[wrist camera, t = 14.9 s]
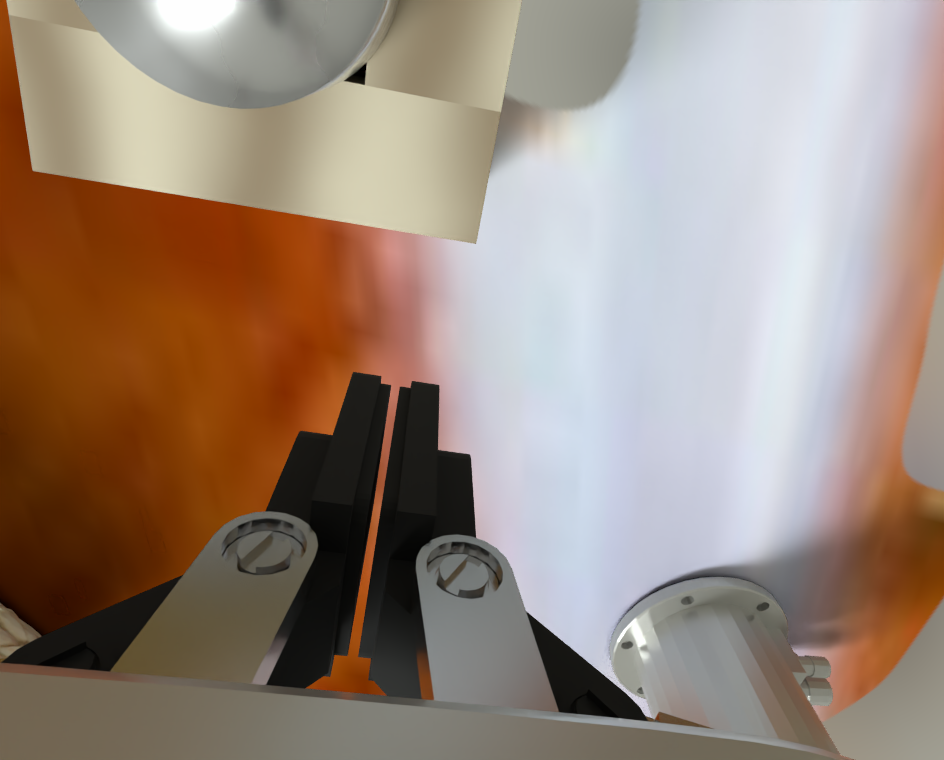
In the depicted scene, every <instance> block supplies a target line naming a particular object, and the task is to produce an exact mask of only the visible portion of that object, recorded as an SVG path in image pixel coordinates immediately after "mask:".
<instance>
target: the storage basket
mask: <svg viewBox="0 0 944 760" xmlns="http://www.w3.org/2000/svg"><path fill="white" fill-rule="evenodd" d="M39 637H41V635H40V634H39V633H38V632H37V631H35V630H34V629H33V628H32V627H31V626H29V625H28V624H26V623H25V622H24V621H22V620H21V619H19V618H18V616H17V615H16V614H15V613H14V611H13V610H11V609H8V608H6V607H5V606H3V605H2V604H1V603H0V659H2V658H7V657H8V656H9V655H11V654H12V653H13V652H14V651H16V650H17V649H19V648H20V647H22V646H24V645H26V644H28V643H30V642H31V641H33V640H35V639H37V638H39Z"/></svg>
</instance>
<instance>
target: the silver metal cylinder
mask: <svg viewBox="0 0 944 760" xmlns="http://www.w3.org/2000/svg"><path fill="white" fill-rule="evenodd" d="M74 1H75V2H76V4H77V5H78V7H79V8H80V10H81V11H82V12H83V14H84V15H85V16H86V17H87V19H88V20H89V21H90V22H91V24H92V25H93V26H94V28H95V29H96V30H97V31H98V32H99V34H100V35H101V36H102V37H103V38H104V39H105V40H106V41H107V42H108V43H109V44H110V45H111V46H112V47H113V48H114V49H115V50H116V51H117V52H118V53H119V54H120V55H122V56H123V57H124V58H125V59H126V60H128V61H129V62H130V63H131V64H132V65H133V66H135V67H136V68H137V69H139V70H140V71H142V72H143V73H145V74H146V75H147V76H149V77H150V78H152V79H153V80H155V81H156V82H158V83H160V84H162V85H164V86H166V87H167V88H169V89H171V90H173V91H175V92H177V93H179V94H182V95H184V96H187V97H190V98H192V99H195V100H197V101H200V102H204V103H208V104H212V105H216V106H221V107H229V108H238V109H258V108H267V107H273V106H279V105H283V104H286V103H289V102H292V101H295V100H298V99H301V98H304V97H306V96H309V95H312V94H314V93H317V92H320V91H322V90H325V89H328V88H330V87H332V86H334V85H336V84H338V83H340V82H342V81H344V80H346V79H347V78H349V77H350V76H351V75H353V74H354V73H356V72H357V71H358V70H359V69H360V68H361V67H362V66H363V65H364V64H366V63H367V62H368V61H369V59H370V58H371V57H372V56H373V54H374V53H375V52H376V51H377V49H378V48H379V46H380V45H381V43H382V41H383V39H384V38H385V36H386V34H387V32H388V30H389V28H390V25H391V23H392V21H393V18H394V15H395V12H396V8H397V5H398V1H399V0H74Z"/></svg>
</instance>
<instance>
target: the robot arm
mask: <svg viewBox="0 0 944 760" xmlns="http://www.w3.org/2000/svg"><path fill="white" fill-rule="evenodd" d="M390 390H391V385H387V384H381V376H376V375H370V374H363V373H356V372H353V374H352V377H351V380H350V383H349V386H348V390H347V393H346V396H345V399H344V402H343V405H342V408H341V411H340V414H339V418H338V421H337V424H336V427H335V430H334V433H333V435H327V434H320V433H313V432H306V431H300V432H299V434H298V436H297V438H296V440H295V442H294V445H293V447H292V450H291V452H290V454H289V457H288V459H287V461H286V464H285V466H284V469H283V471H282V473H281V476H280V478H279V480H278V483H277V485H276V488H275V490H274V492H273V495H272V497H271V499H270V502H269V504H268V506H267V509H266V511H265V512H256V513H251V514H247V515H244V516H240V517H238V518H236V519H234V520H232V521H230V522H228V523H226V524H225V525H224V526H223V527H222V528H221V529H219V530H218V531H217V532H216V533H215V534H214V536H213V537H212V538H211V540H210V541H209V542H208V544H207V545H206V546H205V548H204V549H203V550H202V551H201V553H200V554H199V555H198V557H197V558H196V559H195V561H194V562H193V563H192V565H191V566H190V567H189V568H188V570H187V571H186V572H185V574H184V575H182V576H180V577H177V578H175V579H173V580H170V581H168V582H166V583H163V584H161V585H159V586H156V587H154V588H152V589H150V590H147V591H145V592H143V593H140V594H138V595H136V596H133V597H131V598H129V599H127V600H124V601H122V602H120V603H117V604H115V605H113V606H110V607H108V608H106V609H103V610H101V611H99V612H97V613H94V614H92V615H90V616H87V617H85V618H83V619H80V620H78V621H76V622H74V623H71V624H69V625H67V626H64V627H62V628H60V629H57V630H55V631H53V632H50V633H48V634H46V635H44V636H41V637H39V638H37V639H35V640H33V641H31V642H30V643H28V644H26V645H24V646H22V647H20V648H19V649H17V650H16V651H14V652H13V653H12V654H11V655H9V656H8V657H7V658H2V659H0V760H854V759H850V758H847V757H844V756H841V755H840V753H839V751H838V750H837V748H836V746H835V745H834V743H833V741H832V739H831V738H830V736H829V734H828V733H827V731H826V729H825V727H824V726H823V724H822V722H821V721H820V719H819V717H818V715H817V714H816V712H815V710H814V709H813V707H812V705H820V706H829V705H830V704H831V703H832V699H833V693H832V688H831V686H830V684H829V682H828V681H827V680H826V679H825V678H828V677H829V676H830V674H831V666H830V664H829V661H828V660H827V659H826V658H825V657H819V656H798V655H797V654H796V653H794V652H793V650H792V648H791V647H790V645H789V643H788V642H787V636H788V623H787V618H786V616H785V614H784V612H783V610H782V608H781V607H780V606H779V604H778V603H777V601H776V600H775V598H774V597H773V595H771V594H770V593H769V592H768V591H766V590H765V589H764V588H762V587H760V586H758V585H756V584H754V583H752V582H749V581H745V580H742V579H738V578H729V577H703V578H697V579H692V580H687V581H683V582H680V583H677V584H674V585H671V586H668V587H665V588H663V589H661V590H659V591H657V592H655V593H653V594H651V595H650V596H648V597H647V598H645V599H643V600H642V601H640V602H639V603H638V604H636V605H635V606H634V607H633V608H632V609H631V610H630V611H629V612H628V613H626V615H625V616H624V617H623V618H622V620H621V621H620V622H619V624H618V625H617V627H616V629H615V631H614V633H613V635H612V637H611V642H610V646H609V653H610V660H611V663H612V667H613V670H614V673H615V675H616V677H617V679H618V681H619V682H620V683H621V684H622V685H623V686H624V687H625V688H626V689H627V690H628V691H630V692H631V693H633V694H634V695H636V696H638V697H641V698H644V699H646V701H647V704H648V707H649V710H650V713H651V716H652V718H649V717H646V716H645V715H644V714H643V712H642V710H641V709H640V707H639V706H638V705H637V704H636V703H635V702H634V701H633V700H632V699H631V698H630V697H629V696H628V695H627V694H626V693H625V692H624V691H622V690H621V689H620V688H619V687H617V686H616V685H615V684H614V683H613V682H611V681H610V680H609V679H608V678H606V677H605V676H604V675H603V674H602V673H600V672H599V671H598V670H597V669H596V668H594V667H593V666H592V665H591V664H589V663H588V662H587V661H586V660H585V659H583V658H582V657H581V656H580V655H579V654H577V653H576V652H575V651H574V650H572V649H571V648H570V647H569V646H568V645H566V644H565V643H564V642H563V641H561V640H560V639H559V638H558V637H557V636H555V635H554V634H553V633H552V632H551V631H549V630H548V629H547V628H546V627H544V626H543V625H542V624H541V623H540V622H538V621H537V620H536V619H535V618H534V617H532V616H531V615H530V614H529V613H527V612H526V610H525V607H524V604H523V601H522V598H521V595H520V592H519V589H518V586H517V583H516V580H515V577H514V574H513V570H512V568H511V566H510V564H509V562H508V560H507V559H506V557H505V556H504V555H503V554H502V553H501V552H500V551H499V550H498V549H497V548H495V547H494V546H492V545H490V544H489V543H487V542H485V541H483V540H480V539H477V538H476V529H475V514H474V498H473V483H472V468H471V457H470V455H469V454H463V453H456V452H448V451H441V450H438V423H439V385H435V384H428V383H422V382H415V381H412V383H411V388H407V387H400V390H399V396H398V403H397V409H396V416H395V422H394V428H393V435H392V441H391V448H390V454H389V461H388V467H387V473H386V480H385V486H384V493H383V499H382V506H381V512H380V519H379V525H378V532H377V538H376V545H375V551H374V558H373V564H372V571H371V577H370V584H369V590H368V597H367V603H366V610H365V616H364V623H363V629H362V636H361V642H360V649H359V655H358V657H364V658H371V664H370V671H369V679H368V680H372V681H375V683H376V684H377V685H378V686H379V687H380V688H381V689H382V690H383V691H384V692H385V694H386V695H387V696H381V695H370V694H359V693H348V692H337V691H326V690H315V689H305V688H306V687H308V686H309V685H311V684H312V683H314V682H315V681H317V680H318V679H320V678H321V677H323V676H329V677H330V675H331V670H332V665H333V660H334V655H343V656H347V655H348V650H349V644H350V638H351V632H352V626H353V621H354V615H355V609H356V603H357V598H358V592H359V586H360V580H361V574H362V569H363V563H364V557H365V551H366V545H367V540H368V534H369V528H370V522H371V516H372V511H373V504H374V498H375V491H376V484H377V478H378V471H379V464H380V457H381V451H382V444H383V437H384V430H385V424H386V417H387V410H388V403H389V397H390Z"/></svg>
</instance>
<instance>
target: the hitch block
mask: <svg viewBox="0 0 944 760" xmlns="http://www.w3.org/2000/svg"><path fill="white" fill-rule="evenodd" d="M521 4H522V0H399V1H398V5H397V8H396V12H395V15H394V18H393V21H392V23H391V25H390V28H389V30H388V32H387V34H386V36H385V38H384V39H383V41H382V43H381V45H380V46H379V48H378V49H377V51H376V52H375V53H374V54H373V56H372V57H371V58H370V59H369V61H368V62H367V66H366V72H362V71H357V72H356V73H354V74H353V75H351V76H350V77H349V78H347V79H346V80H344V81H342V82H340V83H338V84H336V85H334V86H332V87H330V88H328V89H325V90H322V91H320V92H317V93H314V94H312V95H309V96H306V97H304V98H301V99H298V100H295V101H292V102H289V103H286V104H283V105H279V106H273V107H267V108H258V109H238V108H229V107H221V106H216V105H212V104H208V103H204V102H200V101H197V100H195V99H192V98H190V97H187V96H184V95H182V94H179V93H177V92H175V91H173V90H171V89H169V88H167V87H166V86H164V85H162V84H160V83H158V82H156V81H155V80H153V79H152V78H150V77H149V76H147V75H146V74H145V73H143V72H142V71H140V70H139V69H137V68H136V67H135V66H133V65H132V64H131V63H130V62H129V61H128V60H126V59H125V58H124V57H123V56H122V55H120V54H119V53H118V52H117V51H116V50H115V49H114V48H113V47H112V46H111V45H110V44H109V43H108V42H107V41H106V40H105V39H104V38H103V37H102V36H101V35H100V34H99V32H98V31H97V30H96V29H95V28H94V26H93V25H92V24H91V22H90V21H89V20H88V19H87V17H86V16H85V15H84V14H83V12H82V11H81V10H80V8H79V7H78V5H77V4H76V2H75V1H74V0H7V6H8V12H9V19H10V25H11V32H12V38H13V45H14V51H15V58H16V65H17V71H18V78H19V84H20V91H21V97H22V104H23V110H24V117H25V123H26V130H27V136H28V143H29V149H30V156H31V163H32V169H33V171H37V172H43V173H49V174H56V175H62V176H68V177H74V178H80V179H86V180H92V181H98V182H104V183H110V184H116V185H122V186H128V187H134V188H141V189H147V190H153V191H159V192H165V193H171V194H177V195H183V196H189V197H195V198H201V199H207V200H213V201H219V202H226V203H232V204H238V205H244V206H250V207H256V208H262V209H268V210H274V211H280V212H286V213H292V214H298V215H304V216H311V217H317V218H323V219H329V220H335V221H341V222H347V223H353V224H359V225H365V226H371V227H377V228H383V229H389V230H396V231H402V232H408V233H414V234H420V235H426V236H432V237H438V238H444V239H450V240H456V241H462V242H468V243H474V244H476V241H477V236H478V231H479V225H480V220H481V215H482V210H483V204H484V199H485V194H486V189H487V183H488V178H489V173H490V167H491V162H492V157H493V152H494V146H495V141H496V136H497V131H498V125H499V120H500V115H501V109H502V104H503V99H504V94H505V88H506V83H507V78H508V72H509V67H510V62H511V57H512V51H513V45H514V41H515V36H516V30H517V25H518V20H519V14H520V9H521Z"/></svg>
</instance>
